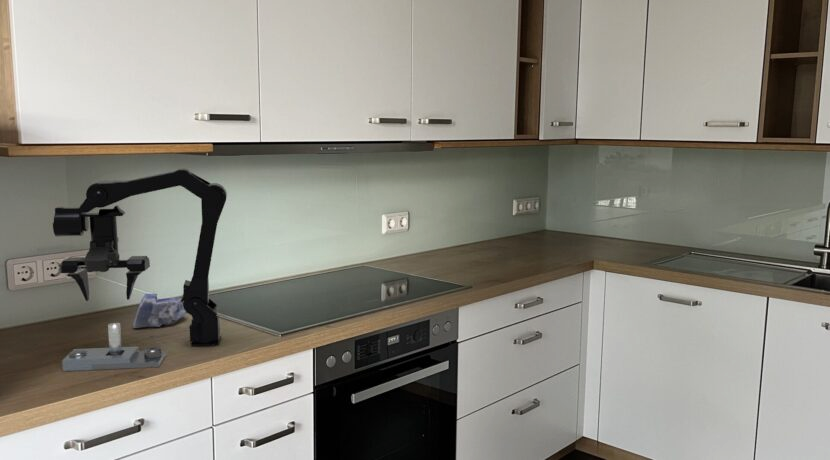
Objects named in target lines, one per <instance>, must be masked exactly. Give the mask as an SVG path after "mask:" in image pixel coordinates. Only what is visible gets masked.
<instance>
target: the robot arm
mask: <svg viewBox="0 0 830 460" xmlns="http://www.w3.org/2000/svg"><path fill="white" fill-rule="evenodd" d="M175 187H183V189H185V190H187V191H188V192H190V193H191V194H193V195H194V196H196V197H198V198H199V199H201V202H200V204H201V207H200V208H201V226H200V232H199V233H200V234H199V238H198V244H197V250H196V255H195V262H194V269H193V272H192V273H193V274H192V277H191V280H188V279H185V280H184V283H183V286H182V287H183V293H182V295H181V302H182V301H183V307H184V310H185V311H186V312H187V313H186V314H188V315H190V316H191V318H192V319H191V323H190V324H189V327H188V328H189V341H190V342H191V343H190V346H191V347H200V346H203V347H204V346H219V344H220V342H221V339H222V335H221V326H220V325H221V323H220V315H218V310H219V309H218V308H219V305H218V304H217V303H216V302H215V301H213V300H212V299H211V298H210V285H209V284H210V282H209V274H210V269H211V262H212V256H213V250H214V247H215V239H216V235H217V228H218V223H219V221H220V217H221V216H222V215H221V214H222V213H223V210H224V207H225V204H226V200H227V196H228V192H227V189H226V188H225V187H224V186H223V185H222V184H220V183H217V182H212V183H211V182H210V181H208V180H206V179H204V178H202V177H201V176H198V175H197V174H194V172H191V171H190V170H189V169H188V168H183V167H181V168H179V169H178V168H177V170H172V171H167V172H161V173H156V174H153V175H148V176H143V177H138V178H134V179H130V180H129V179H128V180H127V179H126V180H125V179H124V180H123V179H122V180H118V179H117V180H100V181H97V182H95V183H93V184H91V185H89V187H88V188H87V189H86V192H85V197H86V198H85V199H84V201H83V202H82V203H81V204H80V206H79V207H75V206H74V207H64V206H56V207H55V208H54V216H53V222H52V229H53V230H52V231H53V234H54V237H83V236H84V234H85V232H88V231H89V229H90V241H89V249H88V252H87V253H86V255H85V256H84V257H83V256H77V257H75V256H74V257H73V256H72V257H67V258H66V259H64V260H62V261H61V262H60V265H59V267H60V269H59V270H60V271H59V272H60V273H61V274H66V276H67V277H70V278H72V279H73V280H74V281H75V282H76V283H77V286H79V289H80V291H81V293H82V295H83V297H84V300H85V301H86V302H88V301H90V287H89V276H88V273H93V272H95V273H96V272H101V273H106V272H109V270H110V269H127V270H128V271H127V272H125V277H126V293H125V295H126V300H130V299H131V296H132V293H133V290H134V286H135V284H136V281H137V279H138V276H139V275H141V274H142V273H143V272H146V270H148V269H149V268H150V267H151V266H150V261H151V260H150V258H149V257H148V255H132V256H130V257H129V258H128V259H120V254H119V236H118V223H117V217H123V216H124V215H125V214H126V212H125V211H124V210H123V209H121V208H120V206H119V205H115V206H114V207H113V208H105V207H108V206H110V205H113V204H115V203H118V202H121V201H123V200H125V199H128V198H130V197H134V196H138V195H143V194H147V193H150V192H157V191H161V190H166V189H170V188H175ZM96 208H98V209H99V210H98V212H92V211H93V210H95V209H96Z"/></svg>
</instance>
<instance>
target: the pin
mask: <svg viewBox="0 0 830 460" xmlns="http://www.w3.org/2000/svg"><path fill="white" fill-rule="evenodd" d="M107 327H108V328H107V329H108V330H107V331H108V332H107V333H108V346H109V347H108V348H109V350H110V355H122V348H121V347H122V333H121V332H122V330H121V323H119V322H112V323H109V324H108V325H107Z"/></svg>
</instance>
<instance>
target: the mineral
mask: <svg viewBox="0 0 830 460" xmlns="http://www.w3.org/2000/svg"><path fill="white" fill-rule="evenodd" d="M181 298H182V297H181ZM181 298H180V297H170V298H167V297H166V298H160V299H159V298H158V293H145V294H144V295H143V296H142V297H141V299H140V302H139V304H138V309H137V311H136V314H135V318H134V320H133V322H132V323H133V324H132V325H133V328H134V329H138V328H139V329H140V328H146V327H148V328H152V327H158V328H159V327H161V326H162V325H165V326H170V325H173V324H175V323H176V322H178V320H180V319H181V318H182V319H183V317H185V315H186V314H188V313H187V312H186V311H185V310H184V307H183V302H184V301H182V302H181Z"/></svg>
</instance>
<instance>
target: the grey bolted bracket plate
mask: <svg viewBox="0 0 830 460" xmlns="http://www.w3.org/2000/svg"><path fill="white" fill-rule="evenodd" d="M121 348H122V355H110V350H109V347H93V348H92V347H91V348H74V349H72V351H70V352H68V354H67V355H66V356H65V357H64V358H63V359H62V360H61V361H62V362H61V363H62V371H63V372H71V371H72V372H74V371H75V372H76V371H95V370H97V371H99V370H118V369H119V370H121V369H143V368H145V369H146V368H159V367H160V366H161V364H162V362H163V361H164V359H165V357H166V354H167V353H166V350H162V348H161V347H157V346H151V347H148V348H145V349H144V350H143V351H139V346H121Z"/></svg>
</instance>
